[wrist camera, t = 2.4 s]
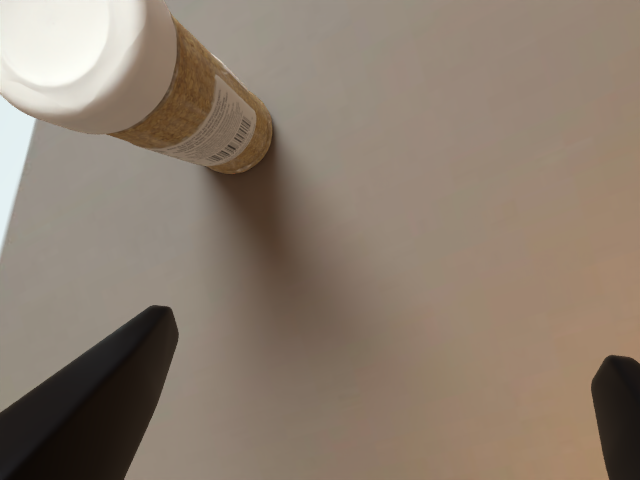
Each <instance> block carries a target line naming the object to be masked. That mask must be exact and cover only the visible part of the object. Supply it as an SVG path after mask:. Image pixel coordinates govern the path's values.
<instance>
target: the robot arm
mask: <svg viewBox="0 0 640 480" xmlns="http://www.w3.org/2000/svg"><path fill="white" fill-rule="evenodd" d="M178 337H179V333H178V328H177V325H176V321H175V318H174V315H173V311H172V309H171V308H170V307H167V306H158V305H153V306H150V307H148V308H147V309H145V310H144V311H143V312H141V313H140V314H138V315H137V316H136V317H134V318H133V319H131V320H130V321H129V322H127V323H126V324H124V325H123V326H121V327H120V328H119V329H117V330H116V331H114V332H113V333H112V334H110V335H109V336H107V337H106V338H105V339H103V340H102V341H100V342H99V343H98V344H96V345H95V346H93V347H92V348H91V349H89V350H88V351H86V352H85V353H84V354H82V355H81V356H79V357H78V358H77V359H75V360H74V361H72V362H71V363H70V364H68V365H67V366H65V367H64V368H62V369H61V370H60V371H58V372H57V373H55V374H54V375H53V376H51V377H50V378H48V379H47V380H46V381H44V382H43V383H41V384H40V385H39V386H37V387H36V388H34V389H33V390H32V391H30V392H29V393H27V394H26V395H25V396H23V397H22V398H20V399H19V400H18V401H16V402H15V403H13V404H12V405H10V406H9V407H8V408H6V409H5V410H3V411H2V412H1V413H0V480H124V478H125V476H126V473H127V471H128V469H129V467H130V465H131V462H132V460H133V458H134V456H135V453H136V451H137V449H138V447H139V445H140V442H141V440H142V438H143V436H144V433H145V431H146V429H147V427H148V425H149V422H150V420H151V418H152V416H153V413H154V411H155V408H156V406H157V403H158V401H159V398H160V395H161V392H162V389H163V386H164V383H165V380H166V376H167V373H168V370H169V367H170V364H171V361H172V358H173V355H174V352H175V349H176V346H177V342H178ZM591 392H592V397H593V403H594V408H595V413H596V419H597V424H598V430H599V435H600V440H601V446H602V451H603V456H604V461H605V465H606V469H607V473H608V477H609V480H640V364H639V363H638V362H637V361H636V360H634V359H633V358H630V357H625V356H616V355H609V356H608V357H606V358H605V360H604V361H603V363H602V365H601V366H600V368H599V370H598V371H597V373H596V375H595V376H594V378H593V380H592V384H591Z"/></svg>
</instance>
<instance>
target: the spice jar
mask: <svg viewBox="0 0 640 480" xmlns="http://www.w3.org/2000/svg"><path fill="white" fill-rule="evenodd" d="M0 94H1V95H2V96H3V97H4V98H5V99H6V100H7V101H8V102H9V103H10V104H12V105H13V106H14V107H16V108H17V109H19V110H20V111H22V112H24V113H26V114H27V115H30V116H32V117H34V118H37V119H40V120H43V121H46V122H49V123H52V124H55V125H58V126H61V127H64V128H67V129H70V130H74V131H78V132H82V133H87V134H107V135H110V136H113V137H116V138H119V139H122V140H125V141H128V142H130V143H132V144H134V145H136V146H139V147H142V148H145V149H148V150H152V151H155V152H158V153H161V154H165V155H168V156H171V157H174V158H177V159H181V160H184V161H187V162H190V163H193V164H197V165H202V166H207V167H209V168H210V169H212V170H214V171H217V172H221V173H225V174H235V173H241V172H244V171H247V170H249V169H250V168H252V167H254V166H255V165H256V164H257V163H258V162H259V161H261V160H262V159H263V157H264V156H265V154H266V152H267V151H268V149H269V146H270V144H271V139H272V132H273V130H272V122H271V116H270V114H269V112H268V110H267V108H266V107H265V105H264V103H263V102H262V101H261V100H259V99H258V97H256V96H255V95H254V94H253V93H251V92H250V91H248V90H247V88H246V87H245V85H244V84H243V83H242V82H241V81H240V80H239V79H238V78H237V77H236V76H235V75H234V74H233V73H232V72H231V71H230V70H229V69H228V68H227V67H226V66H225V65H224V64H223V63H222V62H221V61H220V60H219V59H218V58H217V57H215V56H214V55H212V54H211V53H210V52H209V51H208V50H207V49H206V48H205V47H204V46H203V45H202V44H201V43H200V42H199V41H198V40H197V39H196V38H195V37H194V36H193V35H192V34H191V33H190V32H189V31H188V30H186V29H185V28H184V27H183V26H182V25H181V24H180V23H179V22H178V21H177V20H176V19H175V18H174V17H173V16H172V14H171V13H170V11H169V10H168V7H167V6H166V4H165V2H164V0H0Z"/></svg>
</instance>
